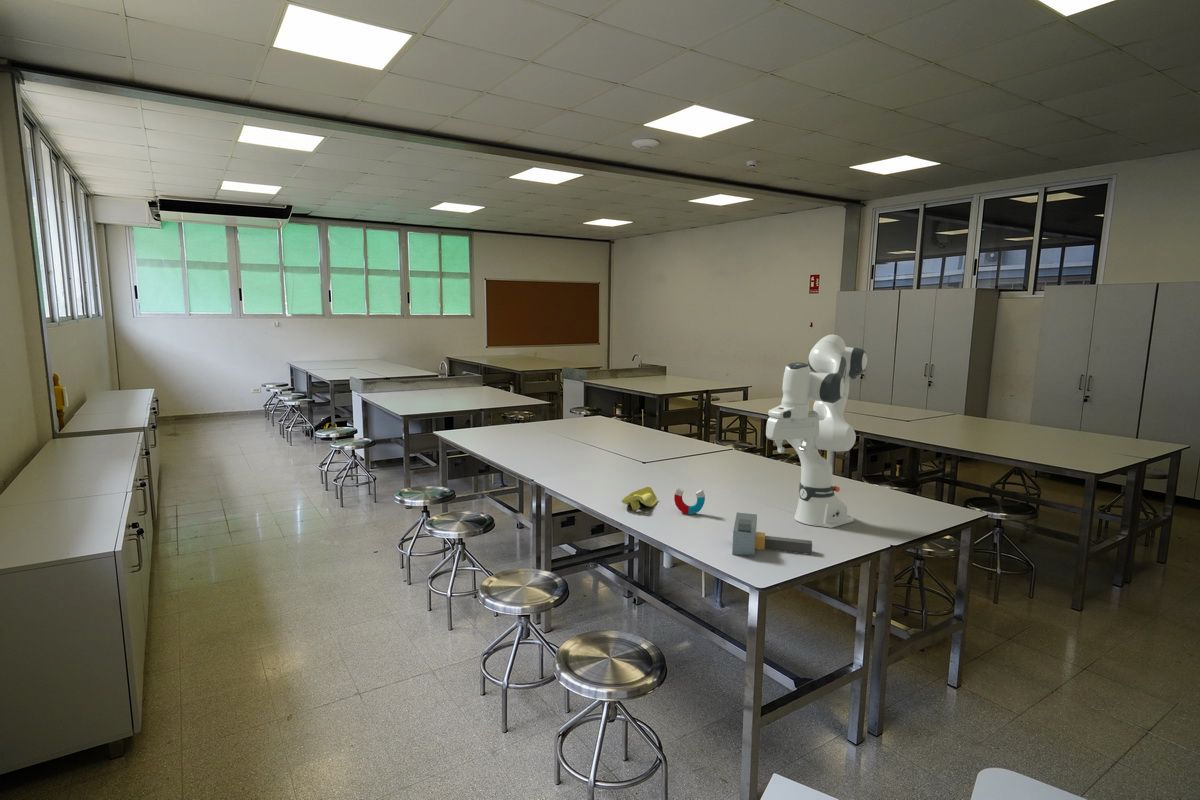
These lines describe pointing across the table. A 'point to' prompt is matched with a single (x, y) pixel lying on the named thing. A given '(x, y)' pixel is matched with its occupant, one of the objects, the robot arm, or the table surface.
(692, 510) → the magnet
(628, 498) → the plastic component
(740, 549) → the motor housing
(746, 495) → the table surface
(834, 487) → the robot arm
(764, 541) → the plug
